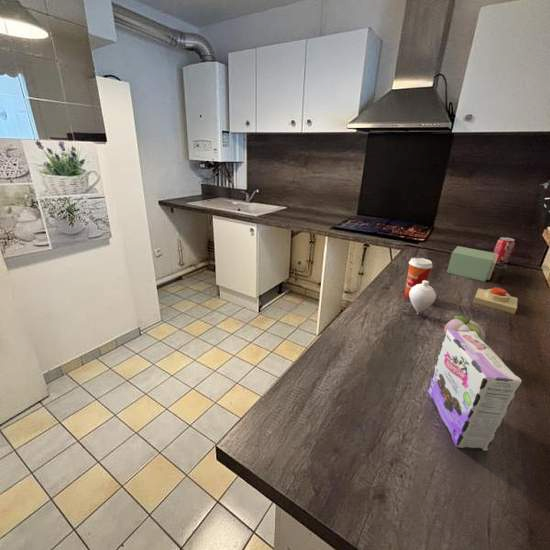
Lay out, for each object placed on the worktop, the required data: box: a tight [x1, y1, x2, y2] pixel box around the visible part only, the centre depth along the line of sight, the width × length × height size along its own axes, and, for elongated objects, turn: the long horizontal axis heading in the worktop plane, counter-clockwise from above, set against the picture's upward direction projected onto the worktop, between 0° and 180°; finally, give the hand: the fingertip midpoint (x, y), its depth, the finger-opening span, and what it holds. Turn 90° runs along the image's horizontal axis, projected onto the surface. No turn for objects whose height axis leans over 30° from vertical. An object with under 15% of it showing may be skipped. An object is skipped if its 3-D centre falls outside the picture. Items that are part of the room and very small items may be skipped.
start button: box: [491, 286, 507, 296], centre depth 103 cm, size 4×4×2 cm
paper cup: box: [404, 257, 434, 299], centre depth 105 cm, size 8×8×14 cm
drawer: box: [486, 256, 508, 281], centre depth 127 cm, size 18×11×8 cm, turn 51°
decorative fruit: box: [443, 315, 486, 342], centre depth 77 cm, size 9×8×10 cm
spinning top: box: [409, 280, 437, 315], centre depth 93 cm, size 8×8×12 cm
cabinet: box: [446, 245, 495, 283], centre depth 129 cm, size 15×13×10 cm
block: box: [472, 287, 519, 315], centre depth 104 cm, size 12×10×4 cm
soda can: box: [492, 236, 516, 265], centre depth 144 cm, size 7×7×12 cm
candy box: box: [427, 330, 523, 452], centre depth 55 cm, size 14×6×16 cm, turn 175°
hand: (544, 228), depth 118 cm, fingers closed
